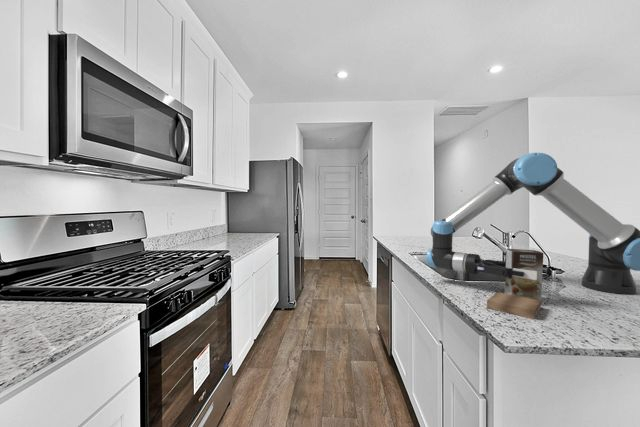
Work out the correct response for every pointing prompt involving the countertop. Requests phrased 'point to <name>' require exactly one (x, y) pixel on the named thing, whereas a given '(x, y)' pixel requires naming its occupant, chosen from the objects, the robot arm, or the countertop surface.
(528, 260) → the brown food box
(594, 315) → the countertop surface
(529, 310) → the walnut board
